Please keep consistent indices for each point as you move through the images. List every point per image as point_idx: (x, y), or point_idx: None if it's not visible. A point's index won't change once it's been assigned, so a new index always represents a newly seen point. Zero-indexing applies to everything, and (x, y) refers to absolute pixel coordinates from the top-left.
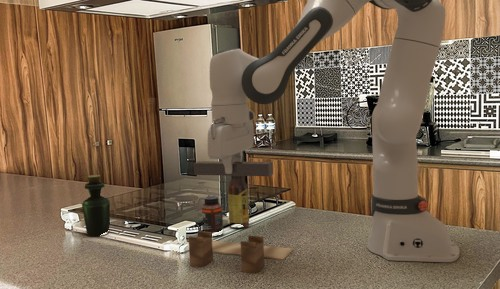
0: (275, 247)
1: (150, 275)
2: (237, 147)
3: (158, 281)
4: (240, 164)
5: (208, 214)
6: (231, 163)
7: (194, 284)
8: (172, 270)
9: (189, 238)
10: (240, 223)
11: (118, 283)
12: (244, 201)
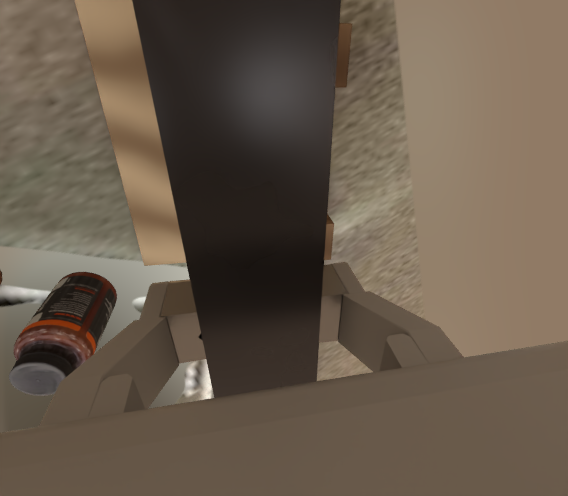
0: (95, 54)
1: (376, 262)
2: (338, 465)
3: (402, 232)
4: (324, 243)
5: (95, 332)
6: (376, 308)
7: (409, 158)
8: (345, 241)
9: (329, 255)
10: None
11: (417, 285)
12: None
